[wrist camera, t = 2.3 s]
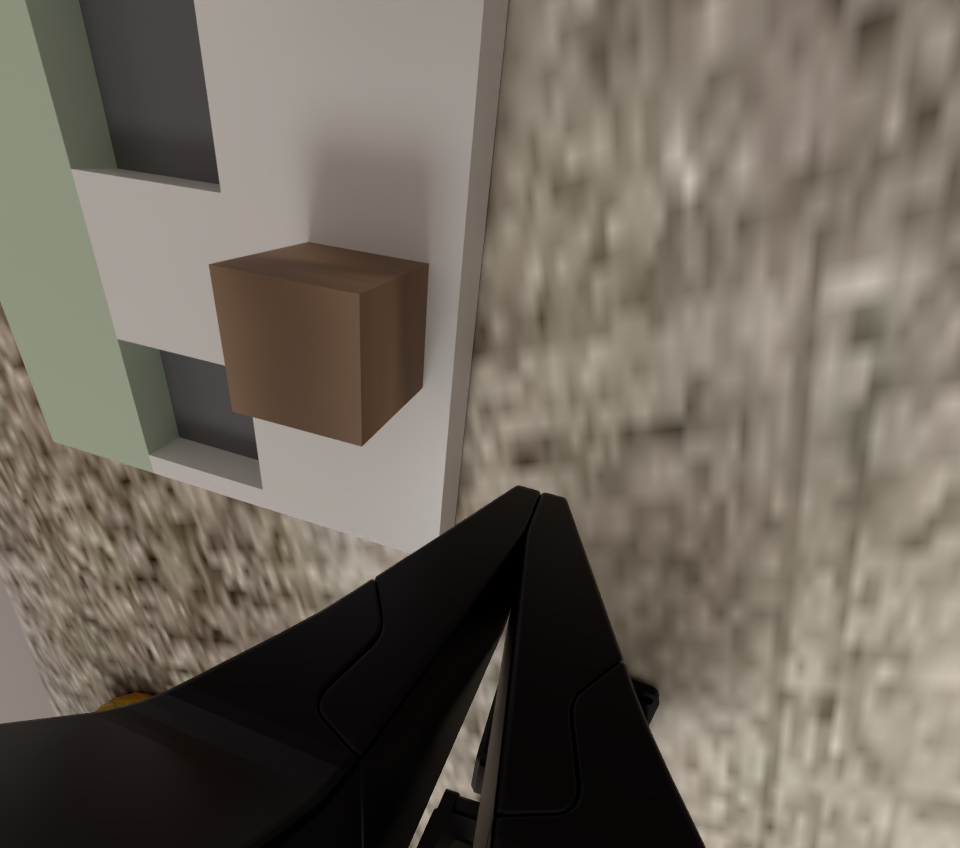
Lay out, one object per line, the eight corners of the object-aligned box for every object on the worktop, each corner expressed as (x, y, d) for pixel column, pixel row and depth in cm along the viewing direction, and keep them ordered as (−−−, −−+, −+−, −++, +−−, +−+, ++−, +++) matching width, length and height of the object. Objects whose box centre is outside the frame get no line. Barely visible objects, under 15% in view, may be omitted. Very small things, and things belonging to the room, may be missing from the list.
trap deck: (514, -59, 12) (491, -94, 10) (453, 530, 21) (436, 562, 20) (-70, -75, 16) (-153, -103, 15) (93, 423, 26) (53, 441, 24)
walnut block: (428, 263, 14) (359, 294, 11) (422, 387, 16) (361, 446, 13) (308, 241, 15) (208, 263, 12) (315, 362, 17) (232, 411, 14)
